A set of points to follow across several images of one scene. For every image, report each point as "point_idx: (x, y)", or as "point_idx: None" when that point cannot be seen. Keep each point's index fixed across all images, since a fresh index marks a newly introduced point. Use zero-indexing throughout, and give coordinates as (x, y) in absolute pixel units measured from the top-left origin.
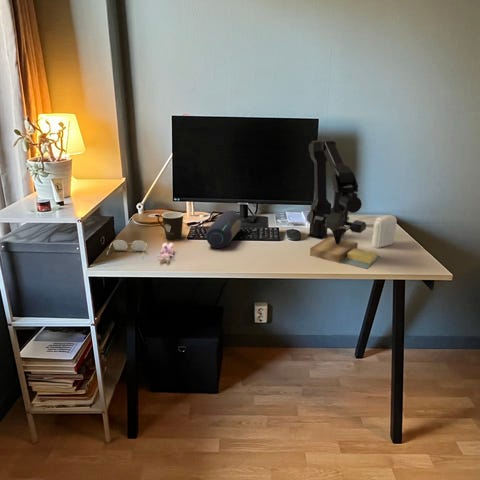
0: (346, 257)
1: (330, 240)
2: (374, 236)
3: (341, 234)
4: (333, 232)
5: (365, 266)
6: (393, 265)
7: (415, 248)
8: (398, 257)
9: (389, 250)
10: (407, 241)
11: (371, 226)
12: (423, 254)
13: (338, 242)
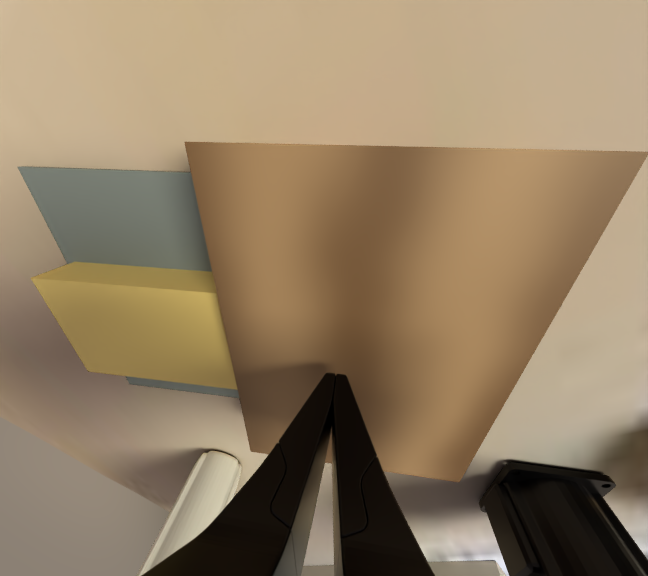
0: None
1: (431, 433)
2: (200, 521)
3: (237, 498)
4: (391, 530)
5: (47, 192)
6: (13, 312)
7: (121, 478)
8: (86, 401)
9: (163, 444)
10: None
11: (333, 569)
12: (65, 449)
13: (318, 387)
